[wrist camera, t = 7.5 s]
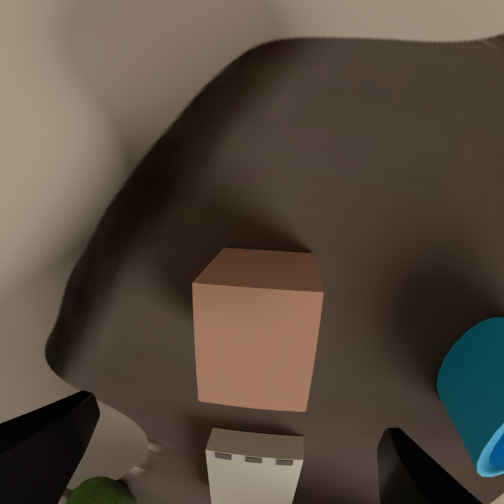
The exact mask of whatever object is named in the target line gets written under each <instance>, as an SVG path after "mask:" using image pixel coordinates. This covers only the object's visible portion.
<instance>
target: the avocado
mask: <svg viewBox="0 0 504 504" xmlns="http://www.w3.org/2000/svg"><path fill="white" fill-rule="evenodd" d="M66 504H137V500H136V498H135V497H134V495H133V494H132V493H131V492H130V490H129V489H128V488H127V487H126V486H124V485H123V484H121V483H120V482H118V481H116V480H113V479H110V478H108V477H94V478H90V479H88V480H85V481H84V482H82V483H81V484H80V485H79V486H77V487H76V488H75V489H74V490H73V491H72V493H71V494H70V496H69V498H68V500H67V502H66Z"/></svg>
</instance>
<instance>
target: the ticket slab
mask: <svg viewBox="0 0 504 504" xmlns="http://www.w3.org/2000/svg"><path fill="white" fill-rule="evenodd" d="M303 455H304V436H287V435H272V434H261V433H251V432H242V431H234V430H226V429H219V428H213V429H212V432H211V435H210V438H209V441H208V444H207V447H206V460H207V469H208V478H209V486H210V494H211V502H212V504H292V501H293V498H294V494H295V490H296V487H297V483H298V479H299V475H300V472H301V468H302V464H303Z"/></svg>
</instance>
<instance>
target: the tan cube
mask: <svg viewBox="0 0 504 504" xmlns="http://www.w3.org/2000/svg"><path fill="white" fill-rule="evenodd" d="M192 291H193V318H194V339H195V356H196V372H197V386H198V399H199V401H202V402H208V403H215V404H222V405H230V406H238V407H247V408H256V409H267V410H280V411H297V412H306V407H307V402H308V396H309V391H310V385H311V379H312V373H313V366H314V360H315V353H316V347H317V340H318V332H319V325H320V317H321V309H322V301H323V293H324V292H323V288H322V284H321V280H320V276H319V272H318V268H317V264H316V261H315V257H314V253H302V252H286V251H270V250H254V249H238V248H223V249H222V251H221V252H220V253H219V254H218V255H217V256H216V257H215V258H214V259H213V260H212V262H211V263H210V264H209V265H208V266H207V267H206V268H205V269H204V270H203V271H202V273H201V274H200V275H199V276H198V277H197V278H196V279H195V280H194V281H193V283H192Z"/></svg>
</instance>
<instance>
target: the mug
mask: <svg viewBox="0 0 504 504" xmlns="http://www.w3.org/2000/svg"><path fill="white" fill-rule="evenodd" d="M436 386H437V390H438V394H439V397H440V399H441V401H442V403H443V405H444V407H445V408H446V410H447V412H448V414H449V416H450V418H451V420H452V422H453V424H454V426H455V428H456V430H457V432H458V434H459V436H460V438H461V440H462V442H463V444H464V446H465V448H466V450H467V452H468V454H469V456H470V458H471V460H472V462H473V465H474V467H475V469H476V471H477V473H479V474H480V475H481V476H482V477H493V476H497V475H500V474H503V473H504V318H503V317H493V318H490V319H487V320H484V321H481V322H480V323H478V324H477V325H475V326H474V327H472V328H471V329H469V330H468V331H467V332H466V333H465V334H464V335H463V336H462V337H461V338H460V339H459V340H458V341H456V342H455V344H454V345H453V347H452V348H451V349H450V351H449V352H448V354H447V355H446V357H445V358H444V361H443V363H442V365H441V368H440V370H439V372H438V379H437V385H436Z"/></svg>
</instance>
